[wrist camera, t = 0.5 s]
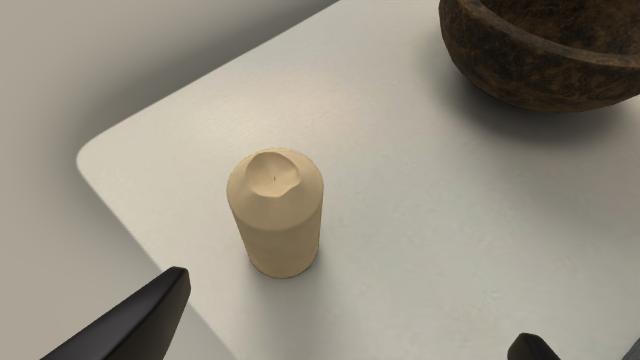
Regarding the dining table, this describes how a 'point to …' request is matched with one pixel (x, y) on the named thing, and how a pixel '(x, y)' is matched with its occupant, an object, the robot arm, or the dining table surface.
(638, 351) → the dark gray square tray
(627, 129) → the dining table surface
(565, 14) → the bowl
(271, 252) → the candle
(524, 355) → the robot arm
